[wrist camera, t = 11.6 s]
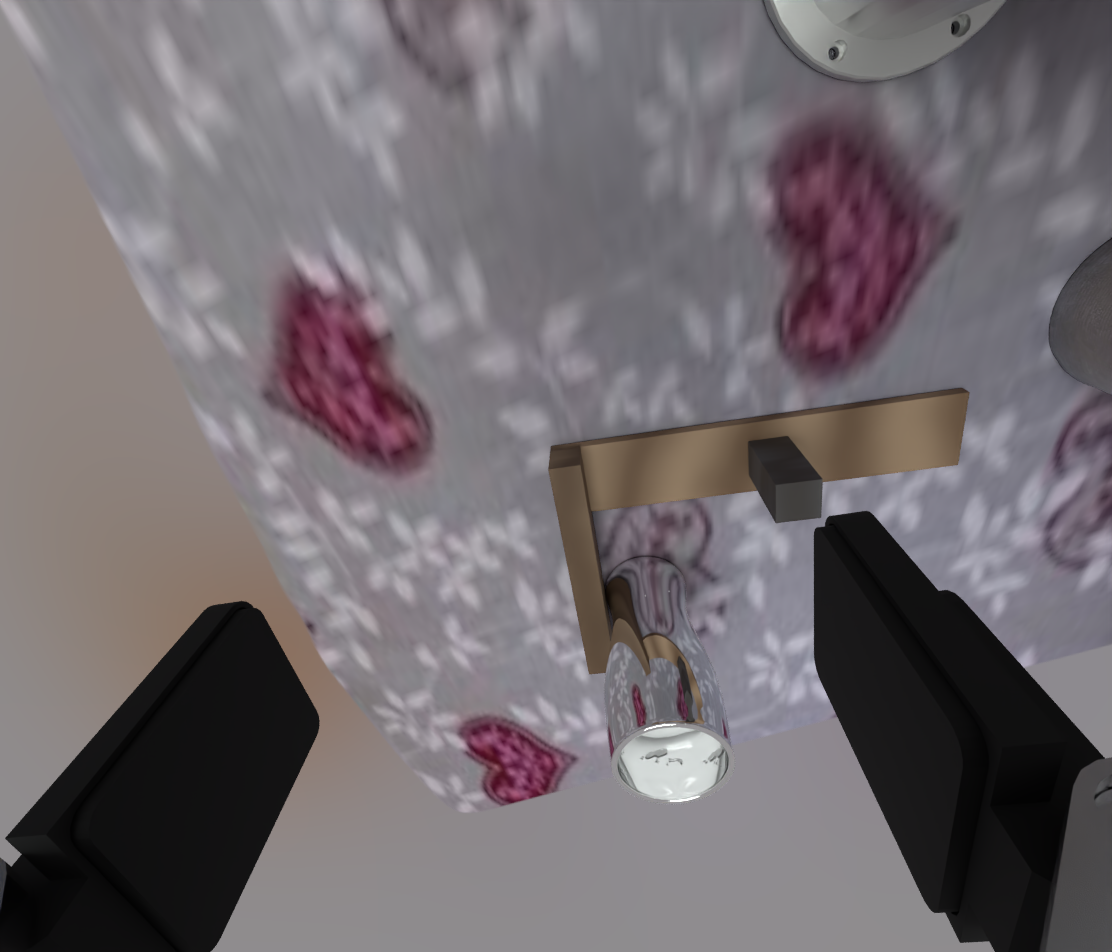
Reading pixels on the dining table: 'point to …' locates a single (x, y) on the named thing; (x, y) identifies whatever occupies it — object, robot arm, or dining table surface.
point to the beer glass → (661, 691)
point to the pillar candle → (1086, 322)
